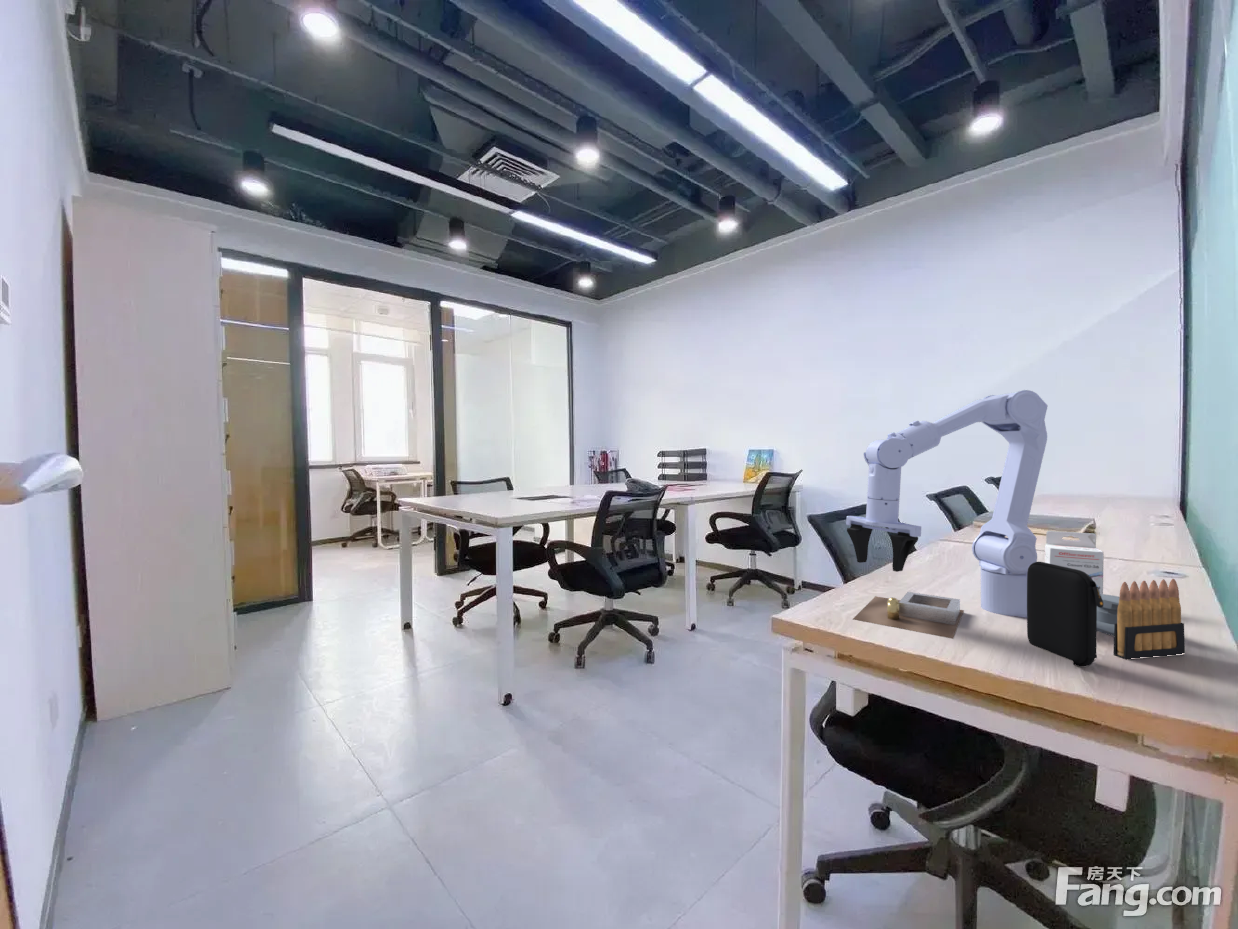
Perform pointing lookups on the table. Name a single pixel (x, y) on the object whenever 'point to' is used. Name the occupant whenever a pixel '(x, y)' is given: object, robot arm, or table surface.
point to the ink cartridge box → (1076, 554)
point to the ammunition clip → (1149, 621)
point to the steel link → (930, 607)
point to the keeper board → (904, 620)
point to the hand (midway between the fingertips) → (879, 566)
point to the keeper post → (893, 609)
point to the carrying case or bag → (1063, 611)
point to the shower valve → (1107, 614)
